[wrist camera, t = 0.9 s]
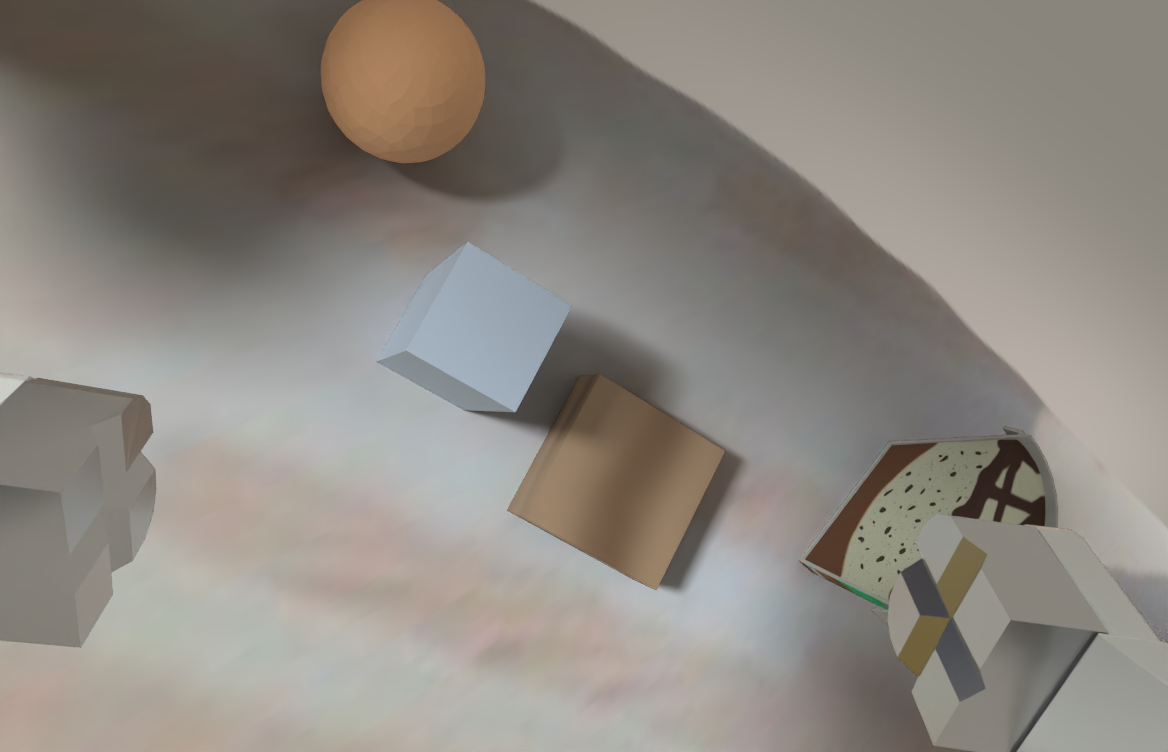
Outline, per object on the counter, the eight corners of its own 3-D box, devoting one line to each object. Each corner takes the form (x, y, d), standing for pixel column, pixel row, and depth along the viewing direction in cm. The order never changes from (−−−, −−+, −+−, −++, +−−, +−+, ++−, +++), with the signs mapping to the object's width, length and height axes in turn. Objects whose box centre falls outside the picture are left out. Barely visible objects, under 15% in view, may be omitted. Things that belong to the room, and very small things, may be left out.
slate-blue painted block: (376, 361, 44) (406, 350, 35) (425, 275, 45) (468, 241, 36) (464, 410, 46) (515, 412, 36) (510, 325, 47) (572, 305, 37)
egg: (319, 21, 44) (331, -65, 36) (468, 46, 46) (510, -29, 38) (312, 171, 43) (322, 118, 35) (462, 188, 46) (504, 142, 38)
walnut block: (505, 509, 47) (523, 517, 43) (577, 376, 48) (600, 373, 45) (629, 577, 49) (656, 590, 45) (695, 448, 50) (725, 451, 47)
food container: (849, 648, 53) (976, 701, 43) (783, 580, 52) (898, 620, 42) (963, 490, 56) (1104, 508, 47) (903, 422, 55) (1036, 427, 45)
